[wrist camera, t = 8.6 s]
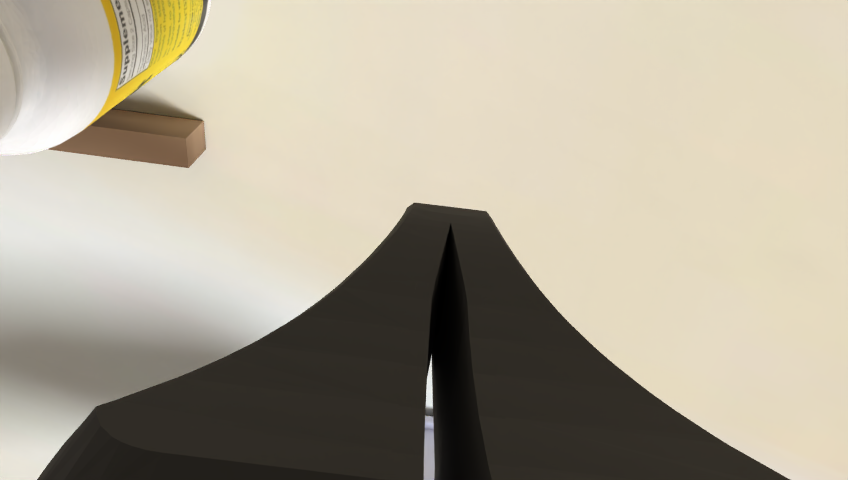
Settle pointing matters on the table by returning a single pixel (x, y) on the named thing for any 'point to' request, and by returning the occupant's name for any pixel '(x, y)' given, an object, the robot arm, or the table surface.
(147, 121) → the wooden bracket frame
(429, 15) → the table surface
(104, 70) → the supplement bottle
